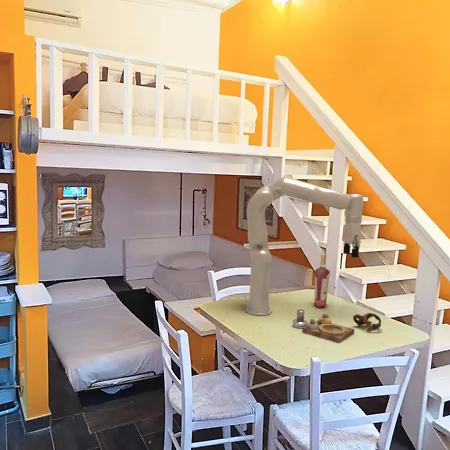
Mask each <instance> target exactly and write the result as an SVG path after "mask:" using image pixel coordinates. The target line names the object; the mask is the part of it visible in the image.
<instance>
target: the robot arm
mask: <svg viewBox="0 0 450 450" xmlns="http://www.w3.org/2000/svg"><path fill="white" fill-rule="evenodd" d="M283 196H286V197H291V198H294V199H297V200H301V201H304V202H308V203H311V204H317V205H322V206H325V207H326V206H327V207H329V208H332V209H337V210H341V211H342V210H343V211H344V210H345V215H344V217H345V218H344V228H343V233H342V242H343V251H342V253H343V254H345V255H346V254H351V258H359V252H360V247H361V242H362V241H361V225H362V221H363V219H362V218H363V217H362V216H363V207H364V195H362V194H360V193H359V194H358V193H343V192H338V191H335V190H332V189H328V188H325V187H322V186H320V185H316V184H313V183H309V182H307V181H302V180H298V179H295V178H292V177H291V178H290V177H288V176H284V177H280V178H278V179H276V180H274V181H272V182H270V183H269V184H267V185H264V186H262V187H261V188H259V189H257V191H256V192H255V194H254V195H252V197H251V198H250V199H249V201H248V203H247V206H246V220H247V228H248V229H247V237H248V238H247V239H248V248H249V254H250V259H251V260H250V274H249V275H250V279H249V297H248V299H249V300H248V299H244V300H243V302H242V304H243V305H245V306H246V307H245V312H246V313H247V314H249V315H254V316H267V315H271V313H272V309H271V308H270V307H269V305H270V304H269V303H270V302H269V301H270V287H271V285H270V284H271V269H272V268H271V267H272V261H273V260H272V254H271V252H270V248H269V241H268V236H269V234H268V229H267V222H266V216H265V215H266V214H265V213H266V209H267V207H269V206H270V205H271V204H272V203H273V201H276V200H278V199H280V198H281V197H283ZM351 246H352V249H351Z"/></svg>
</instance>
